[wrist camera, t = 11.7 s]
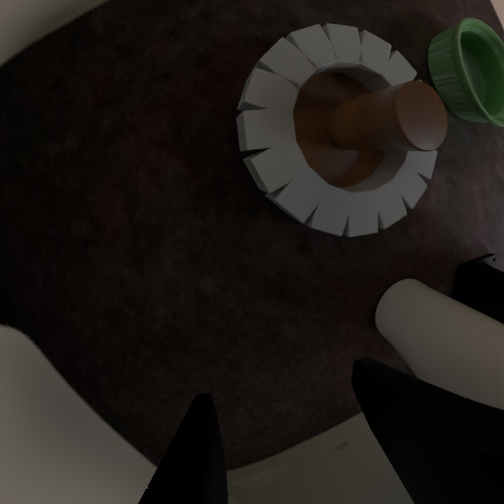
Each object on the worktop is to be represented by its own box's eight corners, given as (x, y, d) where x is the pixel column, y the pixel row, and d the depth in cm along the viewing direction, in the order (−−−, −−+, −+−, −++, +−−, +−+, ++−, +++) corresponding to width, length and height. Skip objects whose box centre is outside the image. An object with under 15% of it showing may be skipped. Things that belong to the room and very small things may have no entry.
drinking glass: (402, 347, 24) (507, 454, 10) (349, 332, 23) (467, 475, 8) (439, 281, 23) (569, 366, 9) (390, 255, 21) (555, 358, 7)
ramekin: (485, 58, 18) (517, 53, 14) (483, 140, 20) (520, 143, 16) (420, 11, 16) (454, -4, 12) (417, 101, 18) (458, 96, 14)
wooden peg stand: (383, 67, 17) (469, 39, 9) (396, 190, 20) (487, 212, 12) (258, 63, 16) (305, 0, 8) (276, 205, 19) (337, 240, 11)
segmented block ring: (401, 50, 15) (423, 41, 13) (416, 215, 19) (439, 222, 17) (226, 37, 14) (231, 19, 11) (250, 239, 17) (258, 252, 15)
